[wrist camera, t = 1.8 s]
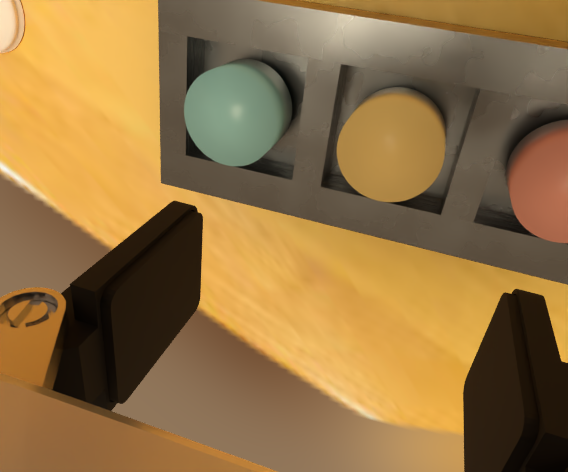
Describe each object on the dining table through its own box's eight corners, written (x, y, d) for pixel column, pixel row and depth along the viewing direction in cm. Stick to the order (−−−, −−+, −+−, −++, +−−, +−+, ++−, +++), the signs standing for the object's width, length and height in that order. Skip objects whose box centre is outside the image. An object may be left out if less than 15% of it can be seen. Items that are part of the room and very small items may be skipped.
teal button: (297, 67, 23) (281, 77, 21) (286, 158, 26) (270, 175, 23) (209, 51, 24) (184, 59, 22) (206, 140, 26) (183, 155, 24)
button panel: (719, 65, 20) (757, 79, 17) (609, 266, 25) (625, 299, 23) (188, -17, 25) (158, -16, 22) (186, 165, 30) (161, 183, 27)
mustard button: (458, 97, 22) (458, 111, 19) (431, 190, 24) (428, 212, 22) (357, 78, 23) (346, 90, 20) (340, 170, 25) (328, 189, 23)
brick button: (643, 131, 20) (666, 150, 18) (595, 227, 22) (610, 255, 20) (526, 109, 21) (535, 125, 19) (491, 204, 23) (495, 228, 21)
